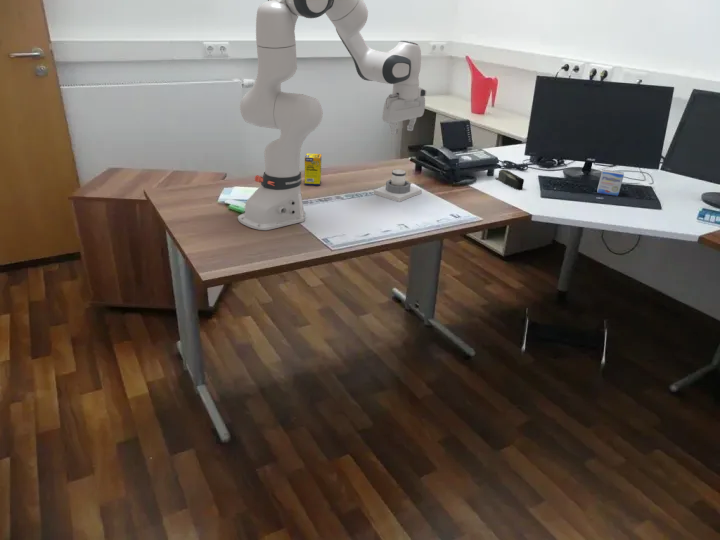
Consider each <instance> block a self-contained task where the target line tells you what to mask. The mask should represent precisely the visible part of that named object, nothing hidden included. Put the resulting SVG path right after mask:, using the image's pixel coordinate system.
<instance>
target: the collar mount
mask: <svg viewBox="0 0 720 540" xmlns="http://www.w3.org/2000/svg"><path fill="white" fill-rule="evenodd" d="M391 180H392V179H388V180H386V182H385V185H383V186H381V187H378V188H375V189H373V192H372V193H373V195H375V196H378V197H379V196H380V197H382V198H386V199H389V200H391V199H392V201H394V200H395V202H397V201H398V203H400V202H403V201H406V200H407V199H410V197H411V198H414V197H415V195H416V196H417V195H420V193H421V194H422V190H423V189H422V188H418V187H414V186H412V185H411V182H409V181H408V180H405V186H393V185H391Z"/></svg>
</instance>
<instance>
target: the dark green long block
mask: <svg viewBox="0 0 720 540" xmlns="http://www.w3.org/2000/svg"><path fill="white" fill-rule="evenodd" d="M497 176H498V177H497ZM497 176H496V177H494V179H495V180H497V181H499V182H501V183H503V184H505V185H506V186H508V187H510V188H512V189H514V190H517V191H519V190H520V191H522V190H523V186H524V182H525V179H524V178H522V177H520V176H519V175H516V174H515V173H513V172H511V171H510V170H507V169H500V170H499V171H498V175H497Z"/></svg>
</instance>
